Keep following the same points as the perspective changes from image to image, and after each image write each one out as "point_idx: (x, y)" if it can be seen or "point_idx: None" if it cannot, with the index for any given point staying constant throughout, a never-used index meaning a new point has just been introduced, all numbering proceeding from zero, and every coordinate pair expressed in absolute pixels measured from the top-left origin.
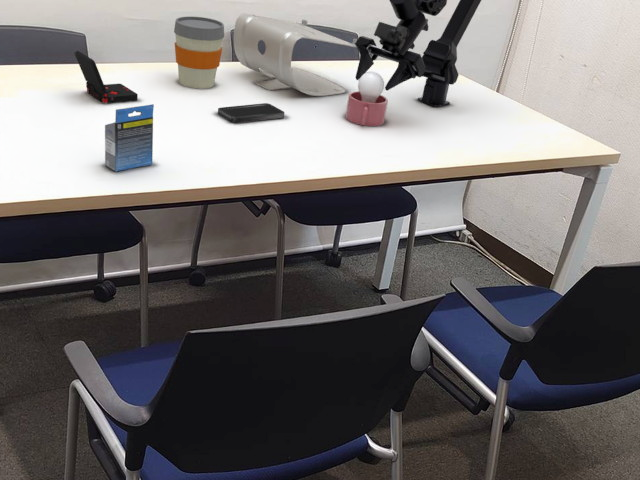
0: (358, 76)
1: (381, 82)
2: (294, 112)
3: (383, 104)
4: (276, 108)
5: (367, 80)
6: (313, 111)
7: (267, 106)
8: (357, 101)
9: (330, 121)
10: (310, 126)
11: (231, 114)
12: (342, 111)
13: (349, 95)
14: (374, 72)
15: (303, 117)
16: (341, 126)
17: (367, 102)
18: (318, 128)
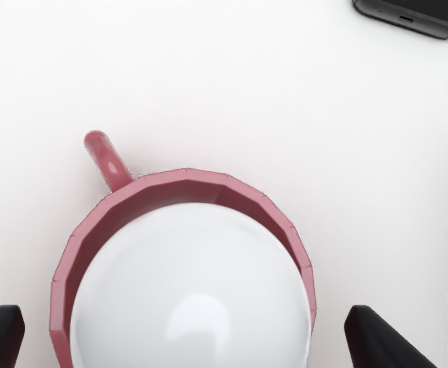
0: (359, 333)
1: (73, 330)
2: (384, 88)
3: (53, 292)
4: (411, 11)
5: (177, 212)
6: (365, 162)
7: (440, 6)
8: (182, 168)
9: (248, 123)
10: (247, 14)
11: None
12: (314, 283)
13: (275, 208)
14: (184, 338)
15: (329, 71)
16: (183, 112)
17: (125, 194)
18: (217, 20)
